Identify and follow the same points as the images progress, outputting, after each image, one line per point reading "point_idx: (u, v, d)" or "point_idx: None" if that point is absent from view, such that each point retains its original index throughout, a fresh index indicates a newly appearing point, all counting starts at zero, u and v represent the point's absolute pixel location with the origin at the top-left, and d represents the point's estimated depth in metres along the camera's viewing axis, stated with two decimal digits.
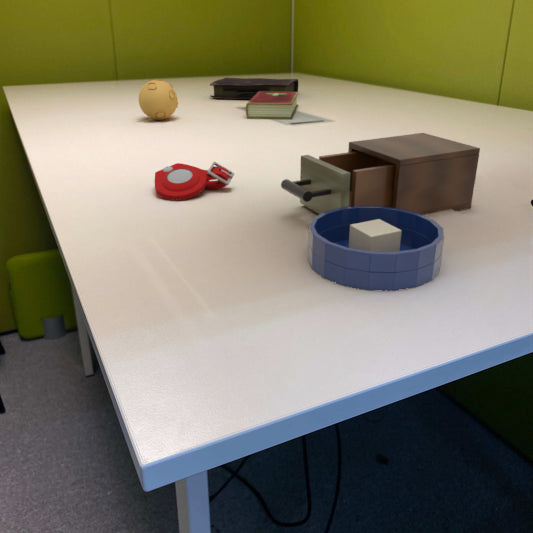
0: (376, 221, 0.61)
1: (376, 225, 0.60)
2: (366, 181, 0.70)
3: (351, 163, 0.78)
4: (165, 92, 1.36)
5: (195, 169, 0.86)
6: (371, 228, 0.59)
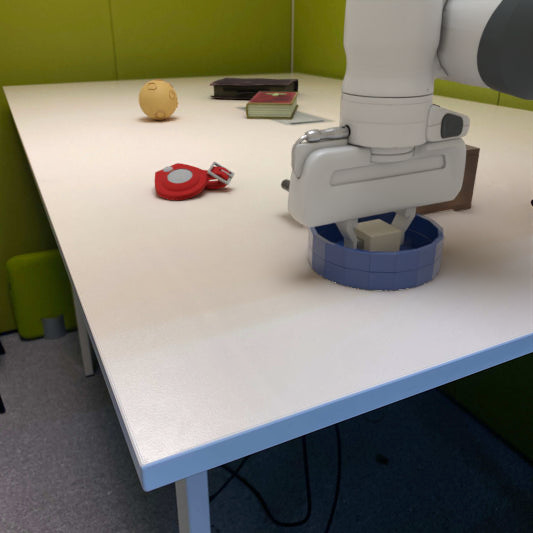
0: (376, 221, 0.61)
1: (375, 225, 0.60)
2: None
3: None
4: (165, 92, 1.36)
5: (195, 169, 0.86)
6: (371, 228, 0.59)
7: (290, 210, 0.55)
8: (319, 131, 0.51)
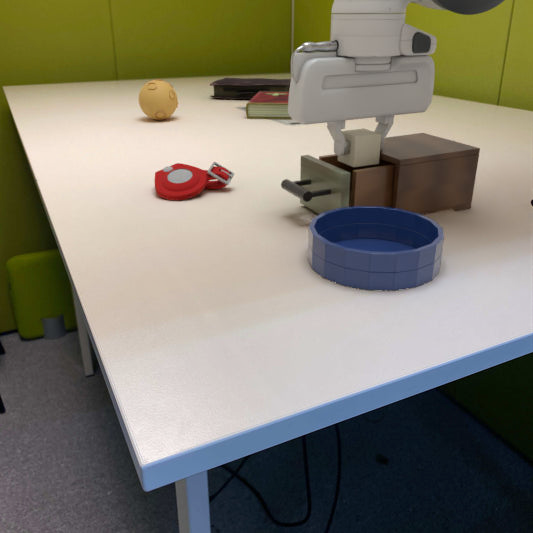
0: (361, 129, 0.73)
1: (360, 131, 0.72)
2: (366, 181, 0.70)
3: None
4: (165, 92, 1.36)
5: (195, 169, 0.86)
6: (356, 133, 0.71)
7: (290, 112, 0.67)
8: (313, 43, 0.64)
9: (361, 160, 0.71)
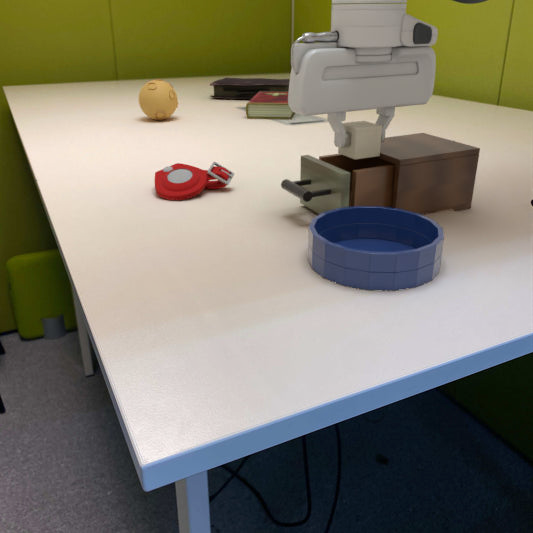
0: (361, 121, 0.73)
1: (361, 123, 0.72)
2: (366, 181, 0.70)
3: (351, 163, 0.78)
4: (165, 92, 1.36)
5: (195, 169, 0.86)
6: (357, 125, 0.71)
7: (290, 103, 0.67)
8: (313, 33, 0.63)
9: (362, 152, 0.71)
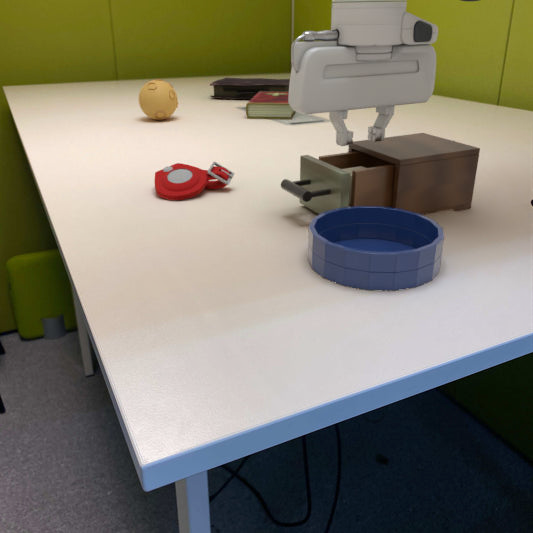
0: (359, 167, 0.76)
1: (358, 169, 0.75)
2: (365, 181, 0.70)
3: (350, 163, 0.78)
4: (165, 92, 1.36)
5: (195, 169, 0.86)
6: None
7: (290, 102, 0.67)
8: (313, 32, 0.63)
9: None
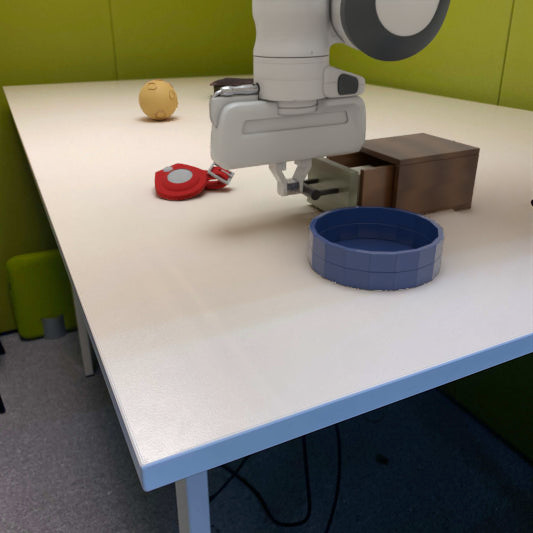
0: (366, 166, 0.76)
1: None
2: (373, 180, 0.70)
3: (358, 162, 0.78)
4: (165, 92, 1.36)
5: (195, 169, 0.86)
6: None
7: (212, 156, 0.65)
8: (231, 87, 0.61)
9: None
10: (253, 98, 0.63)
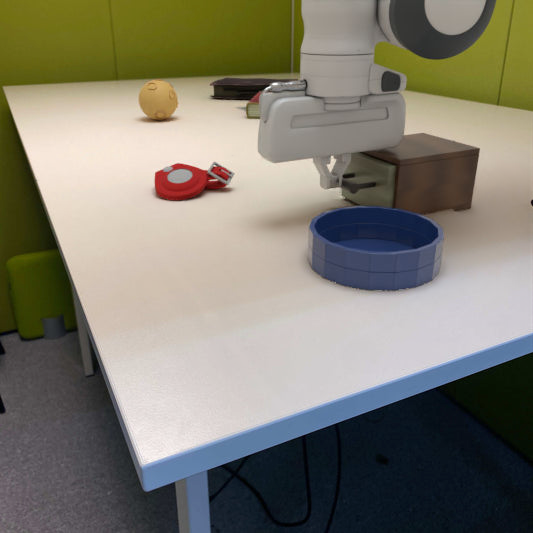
0: None
1: None
2: None
3: None
4: (165, 92, 1.36)
5: (195, 169, 0.86)
6: None
7: (259, 150, 0.67)
8: (281, 83, 0.64)
9: None
10: (301, 94, 0.65)
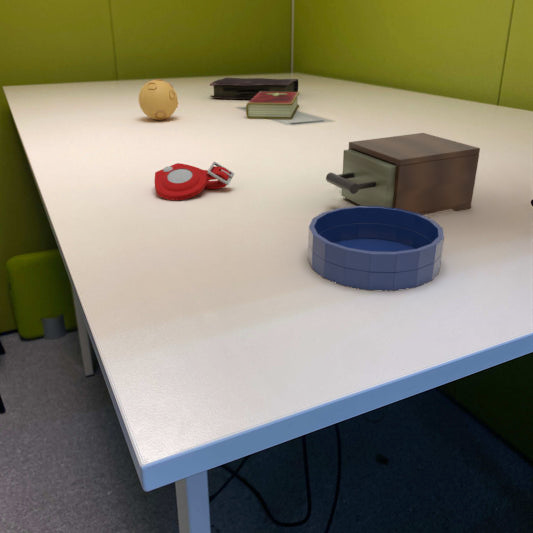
0: None
1: None
2: None
3: None
4: (165, 92, 1.36)
5: (195, 169, 0.86)
6: None
7: None
8: None
9: None
10: None
